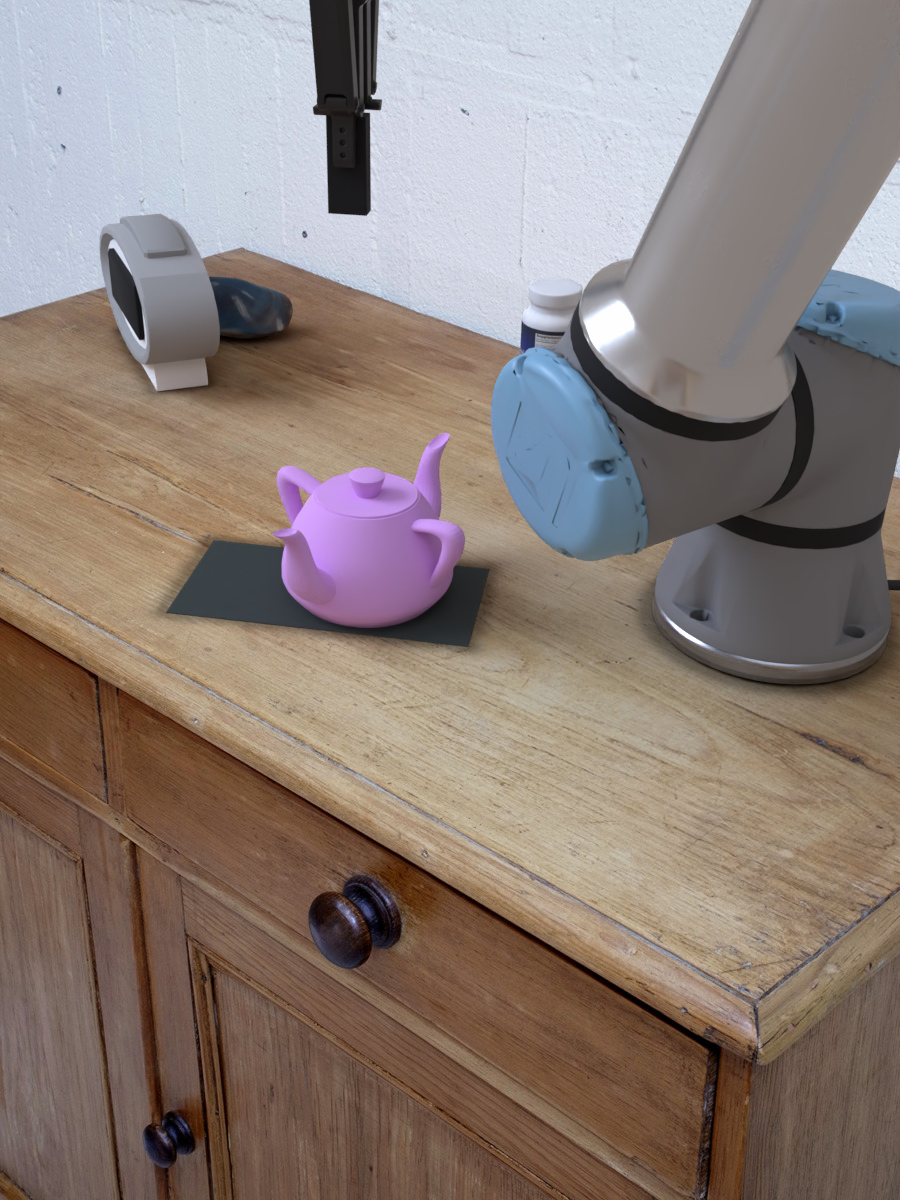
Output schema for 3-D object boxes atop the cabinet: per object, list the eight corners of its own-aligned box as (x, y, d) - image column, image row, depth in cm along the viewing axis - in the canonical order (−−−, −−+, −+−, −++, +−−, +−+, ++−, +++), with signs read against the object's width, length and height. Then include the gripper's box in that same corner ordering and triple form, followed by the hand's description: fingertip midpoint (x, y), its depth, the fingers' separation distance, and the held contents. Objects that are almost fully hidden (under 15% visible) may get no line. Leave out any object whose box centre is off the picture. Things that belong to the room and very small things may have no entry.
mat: (489, 571, 92) (489, 568, 92) (468, 649, 84) (468, 646, 83) (213, 542, 94) (213, 539, 94) (166, 615, 86) (166, 612, 86)
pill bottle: (519, 378, 122) (525, 273, 117) (580, 382, 122) (589, 277, 117) (515, 402, 117) (522, 294, 112) (580, 406, 117) (589, 297, 112)
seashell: (306, 312, 128) (260, 235, 131) (220, 338, 124) (175, 259, 127) (297, 351, 133) (254, 277, 136) (215, 377, 129) (172, 300, 132)
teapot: (445, 541, 95) (448, 428, 90) (467, 647, 83) (472, 523, 79) (279, 545, 94) (275, 431, 89) (278, 653, 82) (272, 528, 78)
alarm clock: (106, 320, 133) (91, 191, 126) (167, 313, 135) (156, 187, 128) (154, 406, 114) (140, 261, 108) (224, 397, 117) (214, 254, 110)
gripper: (308, -186, 85) (318, 186, 97) (253, -186, 74) (272, 233, 86) (422, -183, 84) (418, 192, 96) (384, -182, 73) (385, 241, 85)
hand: (349, 211), depth 91 cm, fingers closed
